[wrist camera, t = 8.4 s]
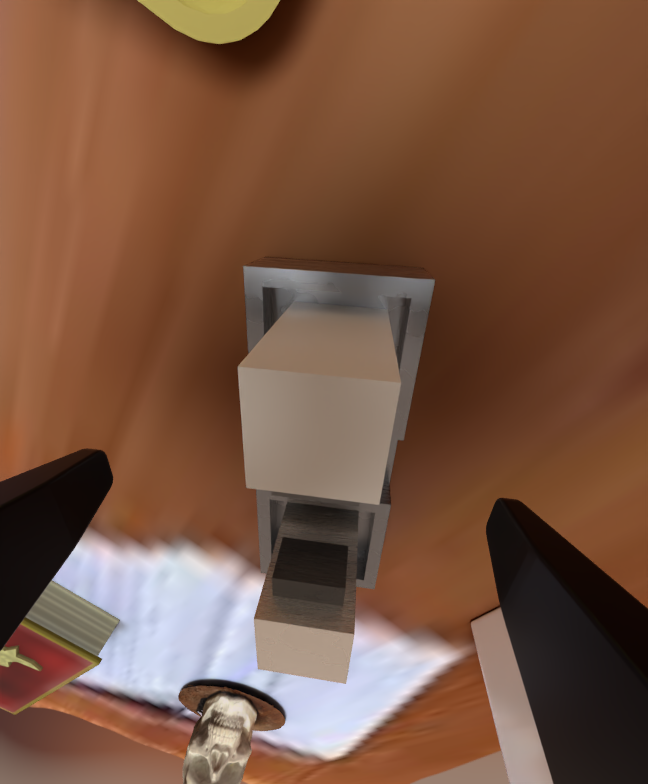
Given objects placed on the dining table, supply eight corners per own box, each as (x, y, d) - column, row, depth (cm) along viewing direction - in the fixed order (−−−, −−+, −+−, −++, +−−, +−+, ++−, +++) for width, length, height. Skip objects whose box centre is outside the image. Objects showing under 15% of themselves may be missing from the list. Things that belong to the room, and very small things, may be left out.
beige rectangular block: (387, 309, 14) (401, 382, 8) (372, 415, 17) (374, 533, 11) (293, 301, 15) (237, 366, 8) (292, 406, 17) (247, 516, 11)
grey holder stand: (423, 267, 15) (478, 324, 7) (373, 546, 23) (375, 704, 16) (264, 256, 15) (165, 298, 8) (273, 532, 24) (228, 679, 16)
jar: (518, 673, 28) (607, 948, 18) (446, 630, 27) (496, 903, 16) (623, 633, 24) (818, 954, 14) (546, 580, 23) (698, 897, 12)
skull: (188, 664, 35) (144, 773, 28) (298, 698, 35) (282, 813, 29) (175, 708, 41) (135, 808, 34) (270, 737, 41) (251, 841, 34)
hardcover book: (-53, 622, 38) (-100, 666, 34) (10, 545, 29) (-43, 593, 26) (45, 672, 41) (12, 718, 37) (128, 616, 32) (96, 668, 29)
